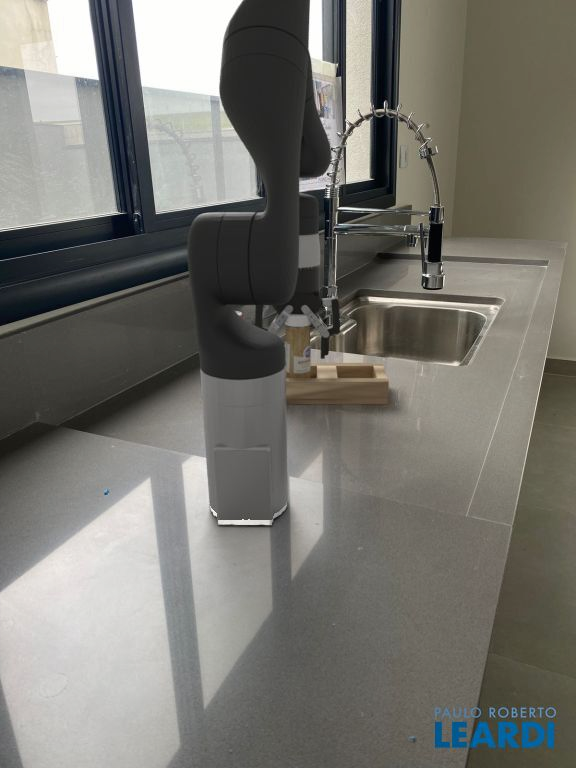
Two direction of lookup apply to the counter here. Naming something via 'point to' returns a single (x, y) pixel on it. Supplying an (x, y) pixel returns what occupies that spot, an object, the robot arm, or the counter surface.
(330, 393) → the rack
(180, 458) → the counter surface
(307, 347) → the sprinkles bottle
